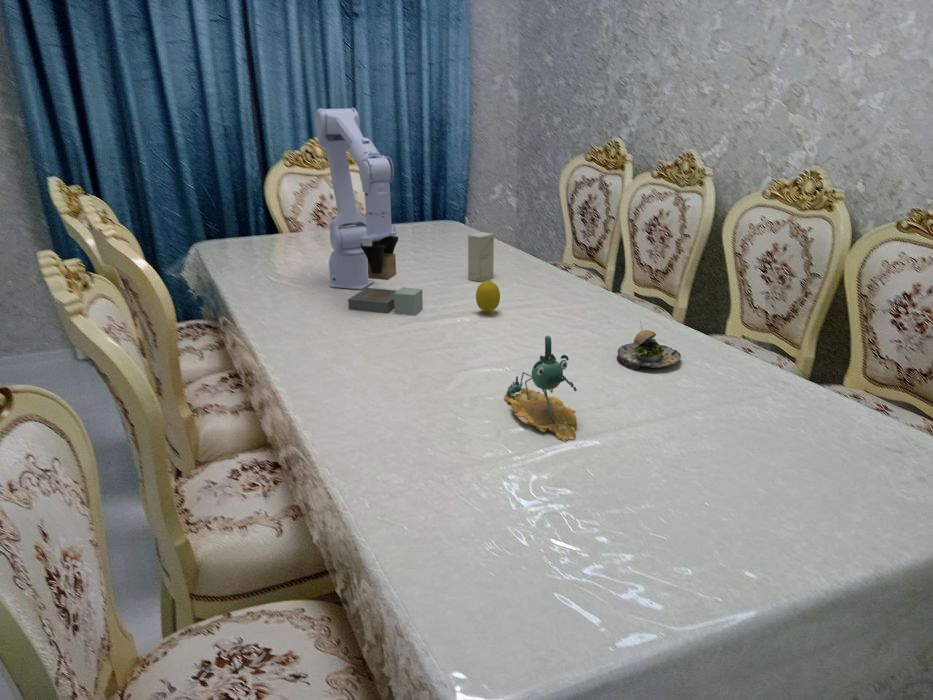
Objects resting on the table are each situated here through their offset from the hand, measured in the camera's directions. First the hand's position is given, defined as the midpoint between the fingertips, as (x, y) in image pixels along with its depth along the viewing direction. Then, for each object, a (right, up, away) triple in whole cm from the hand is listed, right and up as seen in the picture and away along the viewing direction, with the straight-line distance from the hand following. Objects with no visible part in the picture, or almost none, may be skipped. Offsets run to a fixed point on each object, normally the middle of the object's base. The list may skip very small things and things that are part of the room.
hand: (381, 270), depth 156 cm
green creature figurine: (+32, -30, -51) cm, 67 cm away
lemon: (+25, -11, -3) cm, 27 cm away
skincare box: (+24, 0, +24) cm, 34 cm away
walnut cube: (0, -1, +1) cm, 2 cm away
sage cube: (+7, -10, -2) cm, 12 cm away
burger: (+55, -21, -30) cm, 66 cm away
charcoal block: (-1, -9, +2) cm, 9 cm away
